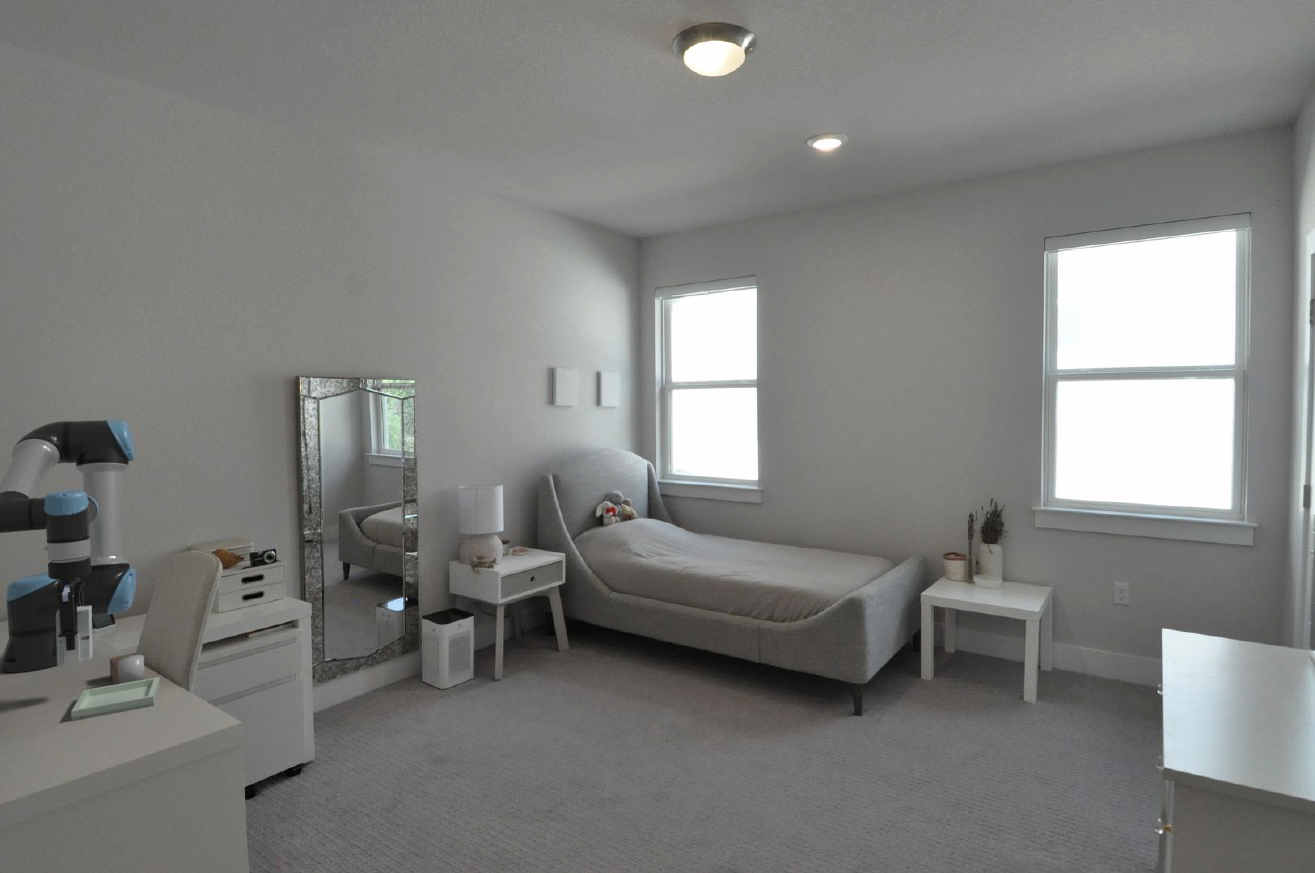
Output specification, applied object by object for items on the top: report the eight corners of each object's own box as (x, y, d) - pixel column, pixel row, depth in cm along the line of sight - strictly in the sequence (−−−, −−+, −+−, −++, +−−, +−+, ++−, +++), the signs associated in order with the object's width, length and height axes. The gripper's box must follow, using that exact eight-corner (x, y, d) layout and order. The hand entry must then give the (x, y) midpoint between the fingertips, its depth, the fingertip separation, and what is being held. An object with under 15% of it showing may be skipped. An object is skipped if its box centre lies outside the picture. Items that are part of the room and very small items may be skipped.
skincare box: (56, 666, 157) (53, 613, 156) (60, 660, 161) (57, 608, 160) (91, 660, 160) (88, 608, 160) (94, 654, 164) (91, 604, 164)
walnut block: (110, 677, 172) (109, 657, 172) (135, 672, 176) (134, 652, 175) (114, 682, 169) (113, 662, 168) (139, 676, 172) (138, 656, 172)
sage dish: (84, 698, 159) (84, 689, 159) (159, 685, 166) (159, 676, 166) (71, 720, 147) (71, 711, 147) (153, 705, 154) (153, 696, 154)
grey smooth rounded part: (120, 681, 169) (119, 657, 169) (145, 677, 171) (144, 653, 171) (117, 688, 164) (116, 663, 164) (143, 683, 167) (142, 659, 167)
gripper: (56, 554, 165) (61, 651, 166) (38, 568, 150) (44, 675, 151) (97, 550, 169) (101, 645, 170) (83, 564, 154) (88, 668, 155)
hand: (74, 659), depth 161 cm, fingers closed on skincare box, 4 cm apart
